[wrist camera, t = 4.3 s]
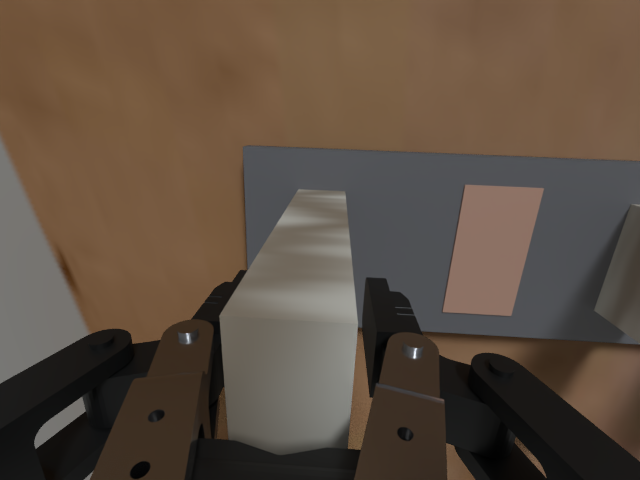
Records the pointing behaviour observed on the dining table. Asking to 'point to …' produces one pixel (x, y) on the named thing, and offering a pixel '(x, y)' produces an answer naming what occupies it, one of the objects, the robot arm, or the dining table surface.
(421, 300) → the domino board
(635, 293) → the ivory domino
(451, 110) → the dining table surface
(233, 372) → the domino
